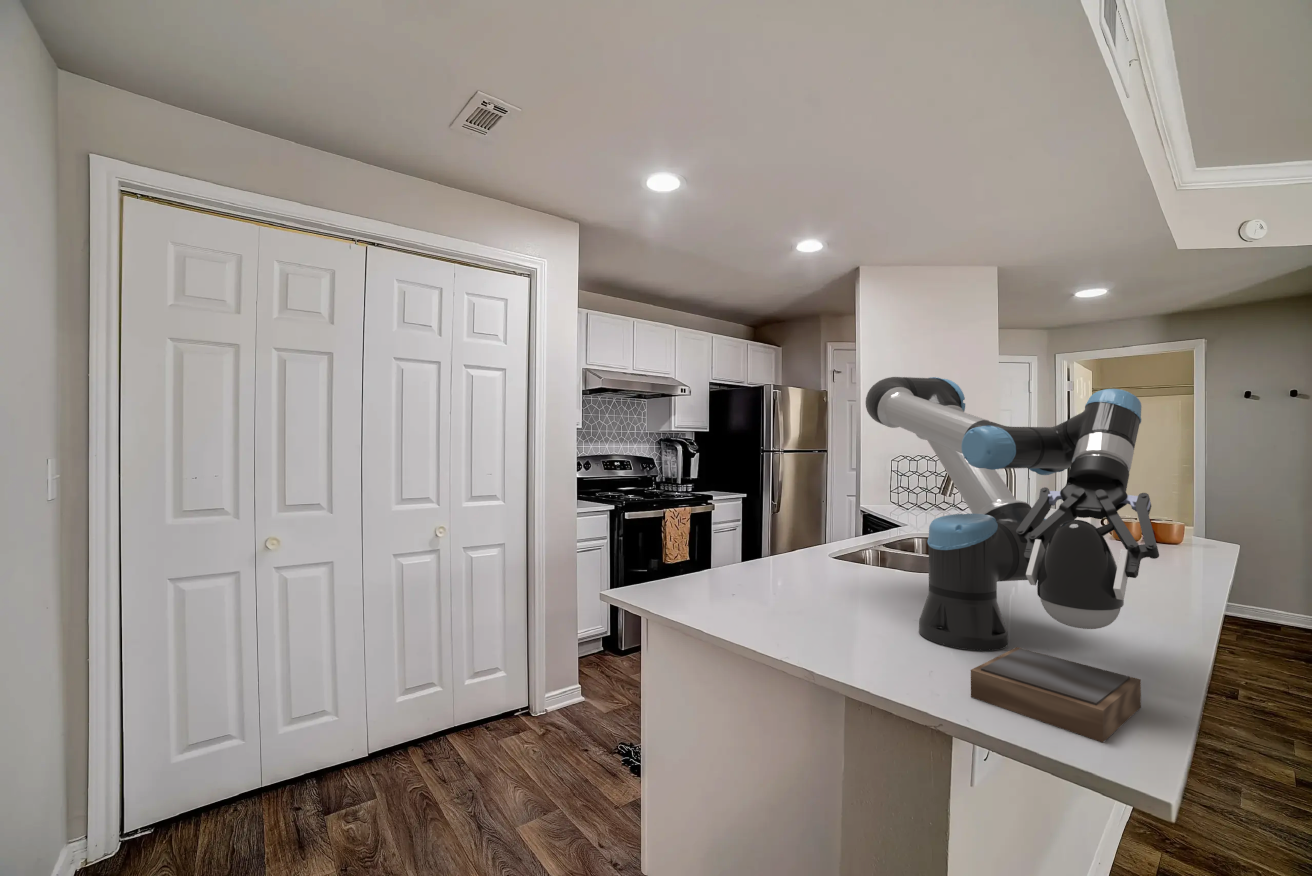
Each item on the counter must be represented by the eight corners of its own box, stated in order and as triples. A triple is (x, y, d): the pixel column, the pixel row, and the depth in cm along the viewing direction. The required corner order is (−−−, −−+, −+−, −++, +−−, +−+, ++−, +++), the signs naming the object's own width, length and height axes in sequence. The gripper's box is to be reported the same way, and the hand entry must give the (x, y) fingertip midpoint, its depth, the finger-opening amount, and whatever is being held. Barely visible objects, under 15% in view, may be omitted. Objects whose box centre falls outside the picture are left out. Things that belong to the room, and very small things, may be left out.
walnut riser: (1103, 742, 72) (1102, 708, 72) (970, 697, 85) (970, 667, 85) (1141, 707, 81) (1140, 677, 81) (1016, 671, 94) (1016, 645, 94)
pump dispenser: (1145, 633, 79) (1143, 524, 79) (1072, 637, 79) (1070, 527, 78) (1087, 610, 89) (1085, 512, 89) (1022, 613, 89) (1020, 515, 89)
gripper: (1197, 487, 85) (1181, 619, 75) (1026, 479, 102) (994, 586, 92) (1191, 454, 82) (1173, 587, 72) (1015, 451, 99) (980, 559, 89)
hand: (1072, 586), depth 82 cm, fingers closed on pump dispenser, 10 cm apart
